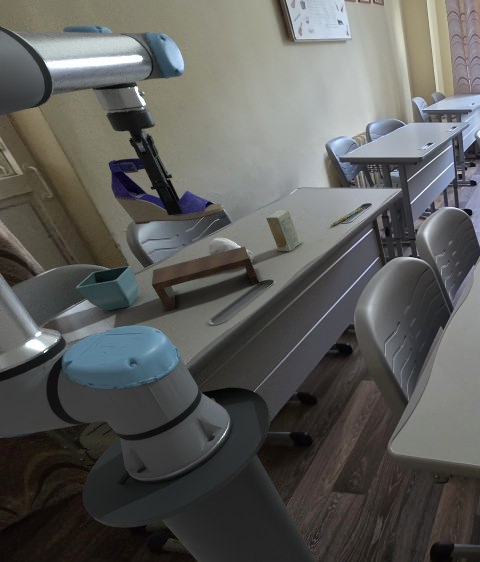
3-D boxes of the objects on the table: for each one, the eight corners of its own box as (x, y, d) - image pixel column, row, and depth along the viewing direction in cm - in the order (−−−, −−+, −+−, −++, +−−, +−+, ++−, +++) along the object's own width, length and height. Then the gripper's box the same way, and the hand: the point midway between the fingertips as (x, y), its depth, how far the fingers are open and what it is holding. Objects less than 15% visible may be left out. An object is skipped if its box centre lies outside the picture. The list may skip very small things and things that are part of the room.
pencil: (333, 227, 148) (361, 210, 163) (332, 224, 148) (361, 207, 162) (330, 227, 149) (359, 210, 163) (329, 224, 148) (358, 207, 163)
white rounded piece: (217, 233, 124) (254, 236, 124) (225, 257, 129) (261, 260, 128) (202, 242, 119) (241, 245, 118) (212, 267, 123) (249, 270, 123)
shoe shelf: (166, 310, 104) (151, 284, 100) (167, 294, 111) (153, 269, 107) (259, 282, 115) (249, 258, 110) (254, 269, 122) (244, 246, 118)
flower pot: (94, 317, 103) (73, 287, 98) (110, 299, 110) (92, 271, 106) (134, 309, 105) (116, 280, 101) (147, 293, 112) (131, 265, 108)
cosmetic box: (289, 243, 138) (277, 209, 131) (300, 243, 137) (289, 209, 131) (277, 251, 132) (264, 217, 126) (289, 252, 132) (277, 217, 125)
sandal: (216, 218, 99) (189, 156, 91) (125, 228, 95) (89, 165, 88) (227, 206, 106) (203, 148, 98) (143, 215, 102) (111, 156, 94)
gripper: (145, 111, 82) (194, 216, 94) (149, 104, 96) (192, 196, 108) (98, 116, 78) (155, 225, 90) (109, 108, 92) (158, 202, 104)
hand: (175, 209), depth 99 cm, fingers closed on sandal, 7 cm apart
